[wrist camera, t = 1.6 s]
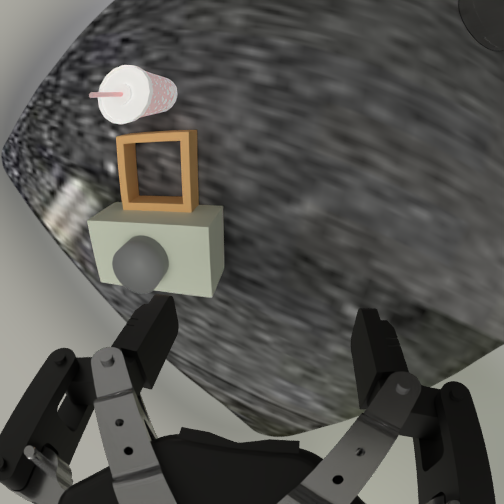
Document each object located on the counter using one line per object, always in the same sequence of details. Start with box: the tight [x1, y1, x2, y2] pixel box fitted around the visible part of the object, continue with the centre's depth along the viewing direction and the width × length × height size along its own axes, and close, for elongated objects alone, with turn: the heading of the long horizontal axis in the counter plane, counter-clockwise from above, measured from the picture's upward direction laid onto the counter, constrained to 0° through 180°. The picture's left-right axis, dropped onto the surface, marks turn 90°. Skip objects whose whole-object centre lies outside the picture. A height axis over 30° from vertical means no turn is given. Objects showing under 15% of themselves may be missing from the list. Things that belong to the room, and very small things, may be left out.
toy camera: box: [87, 130, 224, 298], centre depth 33 cm, size 19×16×10 cm
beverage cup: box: [89, 65, 177, 124], centre depth 25 cm, size 6×6×14 cm
